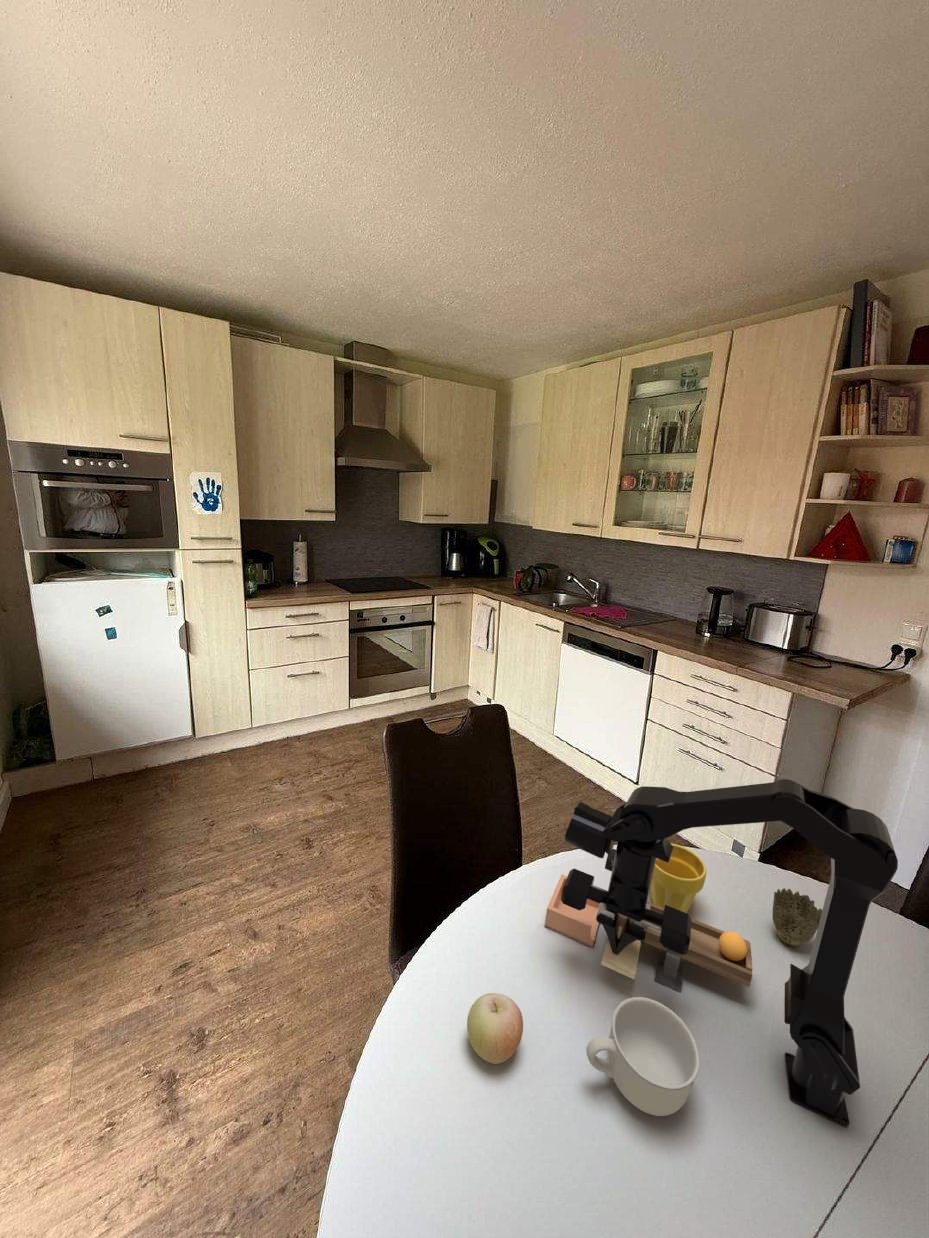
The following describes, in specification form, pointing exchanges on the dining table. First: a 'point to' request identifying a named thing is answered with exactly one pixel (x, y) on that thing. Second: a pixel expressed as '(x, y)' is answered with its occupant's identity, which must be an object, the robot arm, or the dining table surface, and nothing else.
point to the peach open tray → (572, 917)
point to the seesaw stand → (669, 969)
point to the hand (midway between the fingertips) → (615, 951)
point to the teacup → (648, 1056)
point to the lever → (699, 952)
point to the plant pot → (678, 879)
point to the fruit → (495, 1027)
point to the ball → (732, 946)
